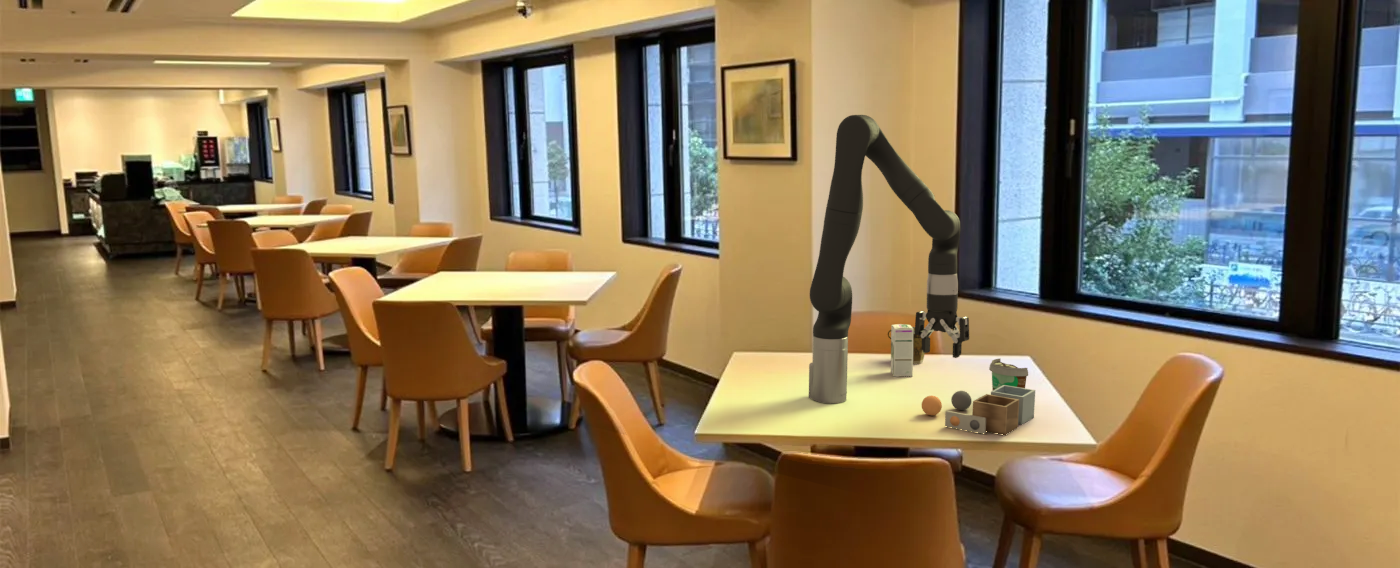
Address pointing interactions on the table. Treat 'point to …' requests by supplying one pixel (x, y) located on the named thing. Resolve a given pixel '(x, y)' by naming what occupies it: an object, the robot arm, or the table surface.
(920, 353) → the ceramic cup
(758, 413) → the table surface
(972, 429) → the card
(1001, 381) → the food container
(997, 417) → the brown bin
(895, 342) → the syrup box
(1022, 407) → the slate bin
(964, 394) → the charcoal ball
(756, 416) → the table surface
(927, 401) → the orange ball
